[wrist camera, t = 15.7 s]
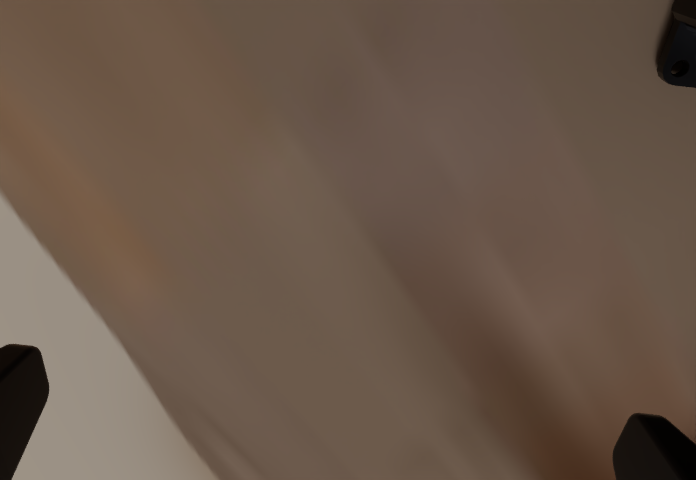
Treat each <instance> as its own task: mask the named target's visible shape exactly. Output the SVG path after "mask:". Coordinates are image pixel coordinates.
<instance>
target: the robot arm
mask: <svg viewBox="0 0 696 480" xmlns="http://www.w3.org/2000/svg"><path fill="white" fill-rule="evenodd" d="M672 12H673V14H674V16H675V19H674V22H673V24H672V27H671V30H670V32H669V35H668V38H667V41H666V43H665V46H664V49H663V51H662V54H661V57H660V60H659V62H658V66H657V72H658V76H659V77H660V78H661V79H662V80H663V81H665V82H666V83H668V84H671V85H675V86H685V87H694V88H696V0H675V1H674V4H673V7H672ZM679 60H683V67H682V68H681V70H680V71H679V72H677V73H675V74H672V73H671V69H672V66H673V65H674V63H676V62H677V61H679ZM48 394H49V383H48V379H47V375H46V371H45V367H44V363H43V359H42V355H41V352H40V350H39V349H38V348H37V347H34V346H28V345H19V344H9V345H6V346H4V347H2V348H0V480H12V477H13V475H14V473H15V471H16V468H17V466H18V464H19V462H20V459H21V457H22V455H23V453H24V451H25V448H26V446H27V444H28V442H29V439H30V437H31V435H32V432H33V430H34V428H35V426H36V424H37V421H38V419H39V417H40V415H41V413H42V410H43V408H44V406H45V404H46V401H47V398H48ZM613 466H614V471H615V476H616V480H696V444H695V443H694V442H693V441H691V440H690V439H689V438H688V437H687V436H686V435H685V434H683V433H682V432H681V431H680V430H679V429H678V428H676V427H675V426H674V425H673V424H672V423H671V422H669V421H668V420H667V419H666V418H664V417H662V416H659V415H653V414H644V413H634V414H633V415H631V416H630V418H629V419H628V421H627V423H626V425H625V427H624V429H623V431H622V433H621V435H620V437H619V439H618V441H617V443H616V445H615V447H614V450H613Z"/></svg>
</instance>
